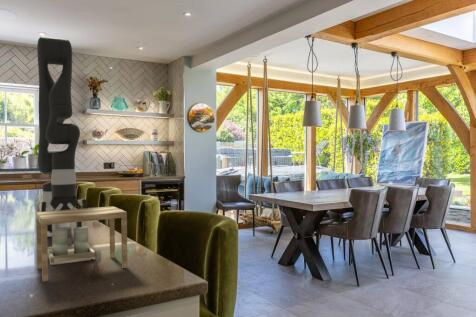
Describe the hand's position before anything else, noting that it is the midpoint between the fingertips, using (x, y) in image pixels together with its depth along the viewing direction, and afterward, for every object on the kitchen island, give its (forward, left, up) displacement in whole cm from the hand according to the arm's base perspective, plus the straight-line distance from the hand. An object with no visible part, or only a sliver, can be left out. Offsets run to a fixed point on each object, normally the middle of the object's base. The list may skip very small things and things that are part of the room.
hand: (64, 231), depth 134 cm
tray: (+8, +5, -6) cm, 11 cm away
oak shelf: (+23, +16, -6) cm, 29 cm away
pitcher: (-44, -28, -6) cm, 52 cm away
